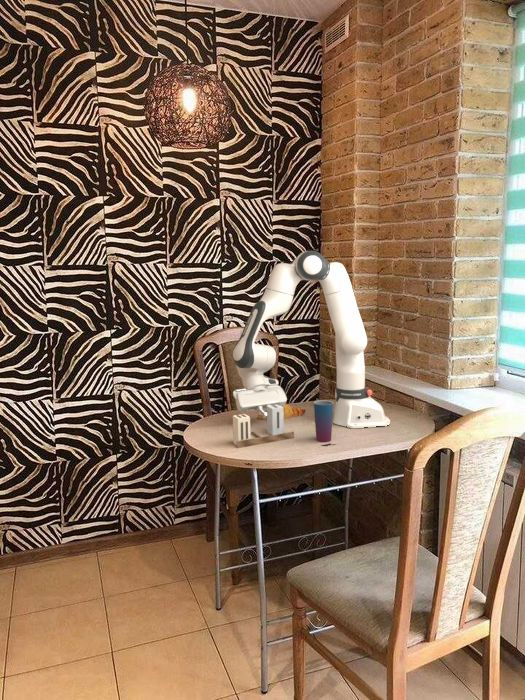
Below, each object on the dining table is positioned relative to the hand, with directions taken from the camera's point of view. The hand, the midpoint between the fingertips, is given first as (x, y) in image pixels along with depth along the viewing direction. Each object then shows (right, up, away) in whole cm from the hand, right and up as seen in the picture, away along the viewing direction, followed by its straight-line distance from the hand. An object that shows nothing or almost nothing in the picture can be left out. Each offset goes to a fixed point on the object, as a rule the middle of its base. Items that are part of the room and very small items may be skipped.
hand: (267, 417), depth 210 cm
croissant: (+6, -3, +19) cm, 20 cm away
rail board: (-3, -8, -10) cm, 13 cm away
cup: (+20, -8, -13) cm, 25 cm away
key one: (+3, -5, -4) cm, 7 cm away
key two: (-9, -7, -16) cm, 20 cm away
